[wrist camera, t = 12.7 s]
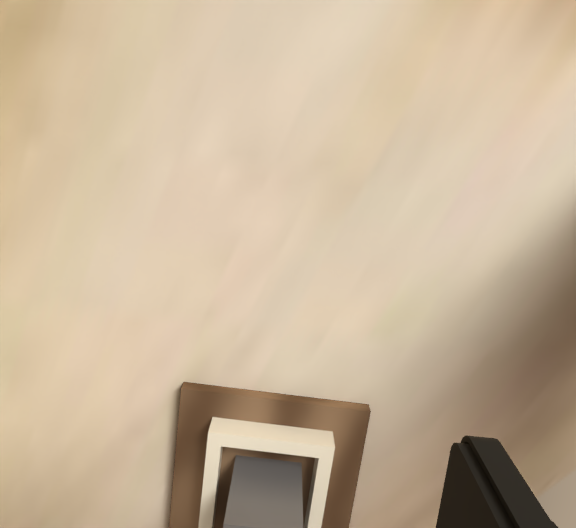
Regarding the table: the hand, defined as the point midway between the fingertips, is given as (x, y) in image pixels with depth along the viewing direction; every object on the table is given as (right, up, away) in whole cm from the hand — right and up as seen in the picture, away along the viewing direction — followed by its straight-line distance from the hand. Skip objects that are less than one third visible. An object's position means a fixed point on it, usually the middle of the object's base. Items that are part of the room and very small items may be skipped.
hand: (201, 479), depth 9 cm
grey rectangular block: (0, -14, +29) cm, 32 cm away
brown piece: (0, -13, +30) cm, 33 cm away
